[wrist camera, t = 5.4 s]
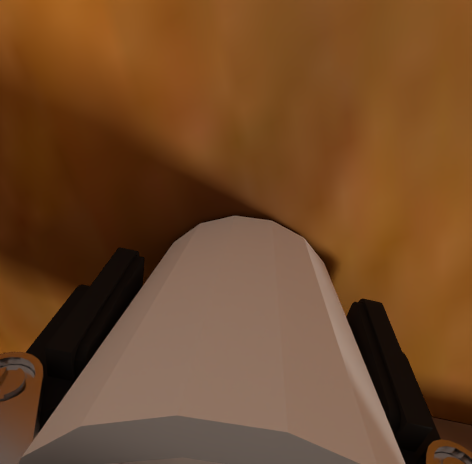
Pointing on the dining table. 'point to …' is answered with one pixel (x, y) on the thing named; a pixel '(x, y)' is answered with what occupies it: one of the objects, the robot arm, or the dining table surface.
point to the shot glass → (225, 365)
